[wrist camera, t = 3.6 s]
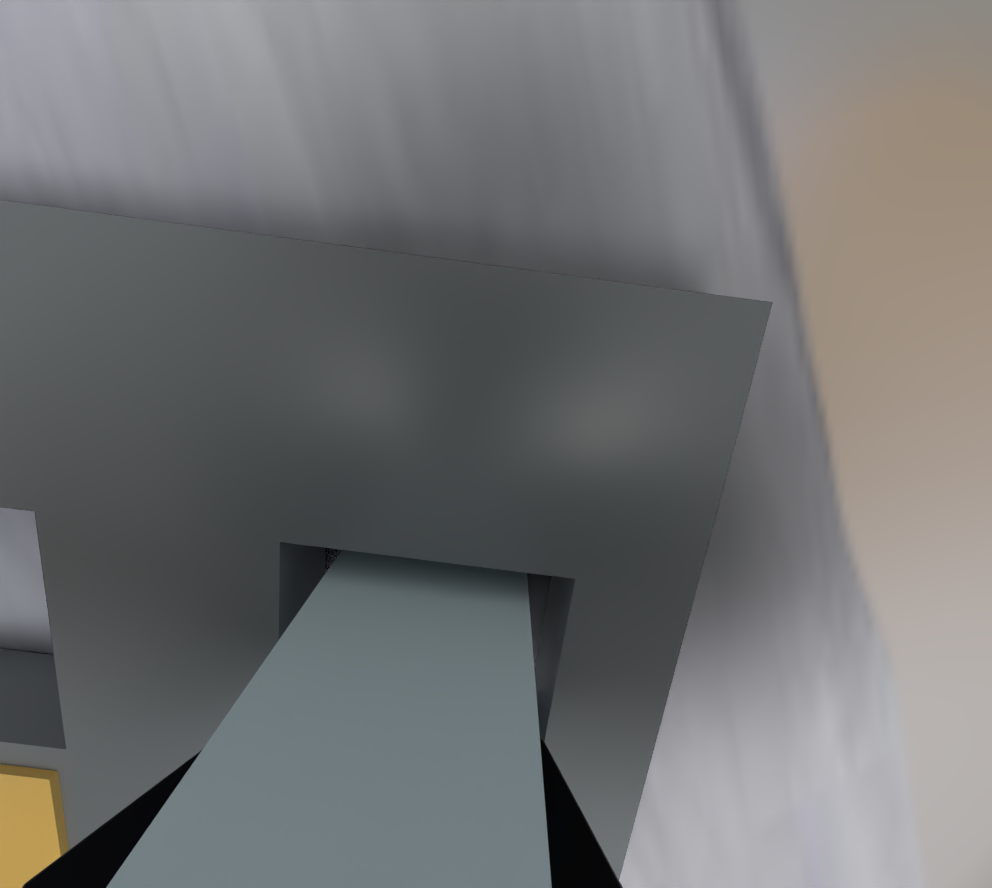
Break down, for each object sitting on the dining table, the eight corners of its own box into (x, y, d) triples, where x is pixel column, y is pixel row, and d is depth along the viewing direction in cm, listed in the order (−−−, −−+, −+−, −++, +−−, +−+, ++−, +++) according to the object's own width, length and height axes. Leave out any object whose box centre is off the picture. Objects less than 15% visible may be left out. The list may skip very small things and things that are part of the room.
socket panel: (578, 866, 14) (593, 990, 12) (-107, 786, 14) (-249, 894, 11) (708, 304, 10) (779, 302, 7) (-265, 176, 10) (-546, 126, 7)
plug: (503, 693, 12) (490, 2056, 3) (346, 674, 12) (-235, 1991, 3) (525, 552, 11) (637, 1959, 2) (355, 531, 11) (-566, 1851, 2)
